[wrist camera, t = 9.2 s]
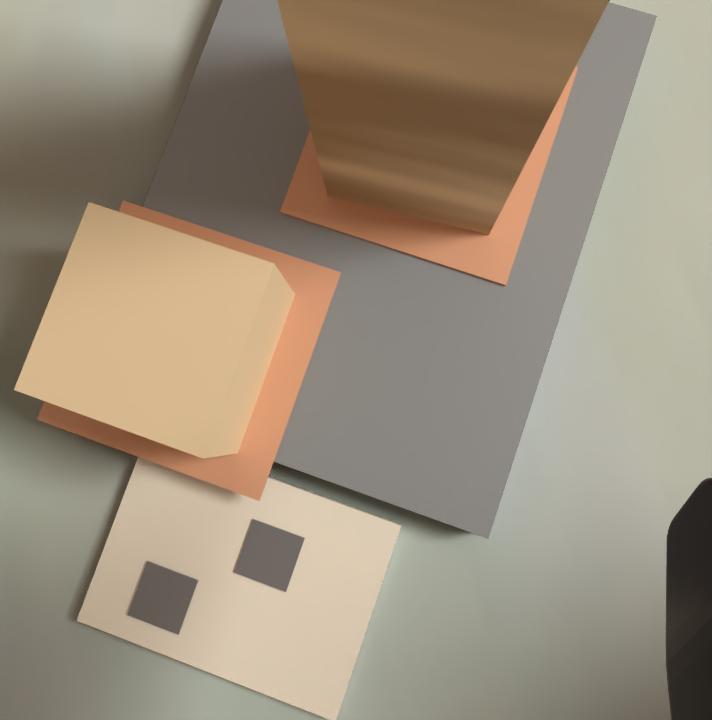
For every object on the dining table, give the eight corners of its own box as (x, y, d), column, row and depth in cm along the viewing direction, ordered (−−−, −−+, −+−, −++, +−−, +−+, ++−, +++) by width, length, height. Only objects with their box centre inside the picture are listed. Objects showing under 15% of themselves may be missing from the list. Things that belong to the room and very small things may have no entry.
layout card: (336, 716, 16) (335, 723, 16) (82, 617, 17) (75, 620, 16) (401, 523, 17) (401, 526, 16) (151, 433, 17) (145, 433, 17)
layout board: (469, 569, 16) (496, 616, 12) (58, 420, 17) (-43, 417, 13) (641, 39, 18) (717, -78, 14) (250, -74, 19) (212, -215, 15)
